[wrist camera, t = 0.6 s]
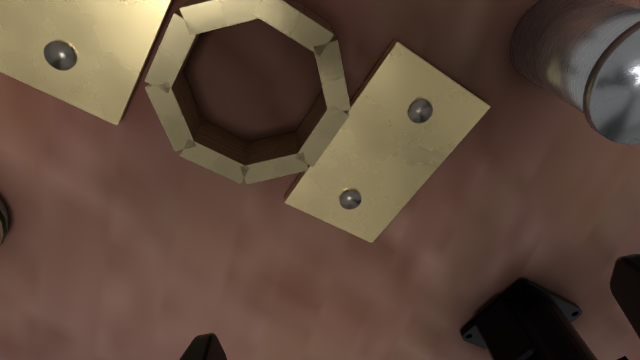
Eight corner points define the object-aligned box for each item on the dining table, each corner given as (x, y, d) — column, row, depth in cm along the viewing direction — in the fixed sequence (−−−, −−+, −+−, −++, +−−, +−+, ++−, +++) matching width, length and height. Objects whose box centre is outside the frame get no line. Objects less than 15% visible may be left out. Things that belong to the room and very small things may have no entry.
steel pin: (620, 21, 19) (757, 61, 14) (546, 101, 21) (640, 164, 16) (558, -38, 18) (685, -20, 12) (484, 54, 19) (564, 106, 14)
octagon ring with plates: (485, 102, 21) (508, 121, 19) (369, 236, 25) (378, 264, 23) (41, -207, 13) (-1, -230, 11) (-20, 54, 18) (-59, 71, 16)
